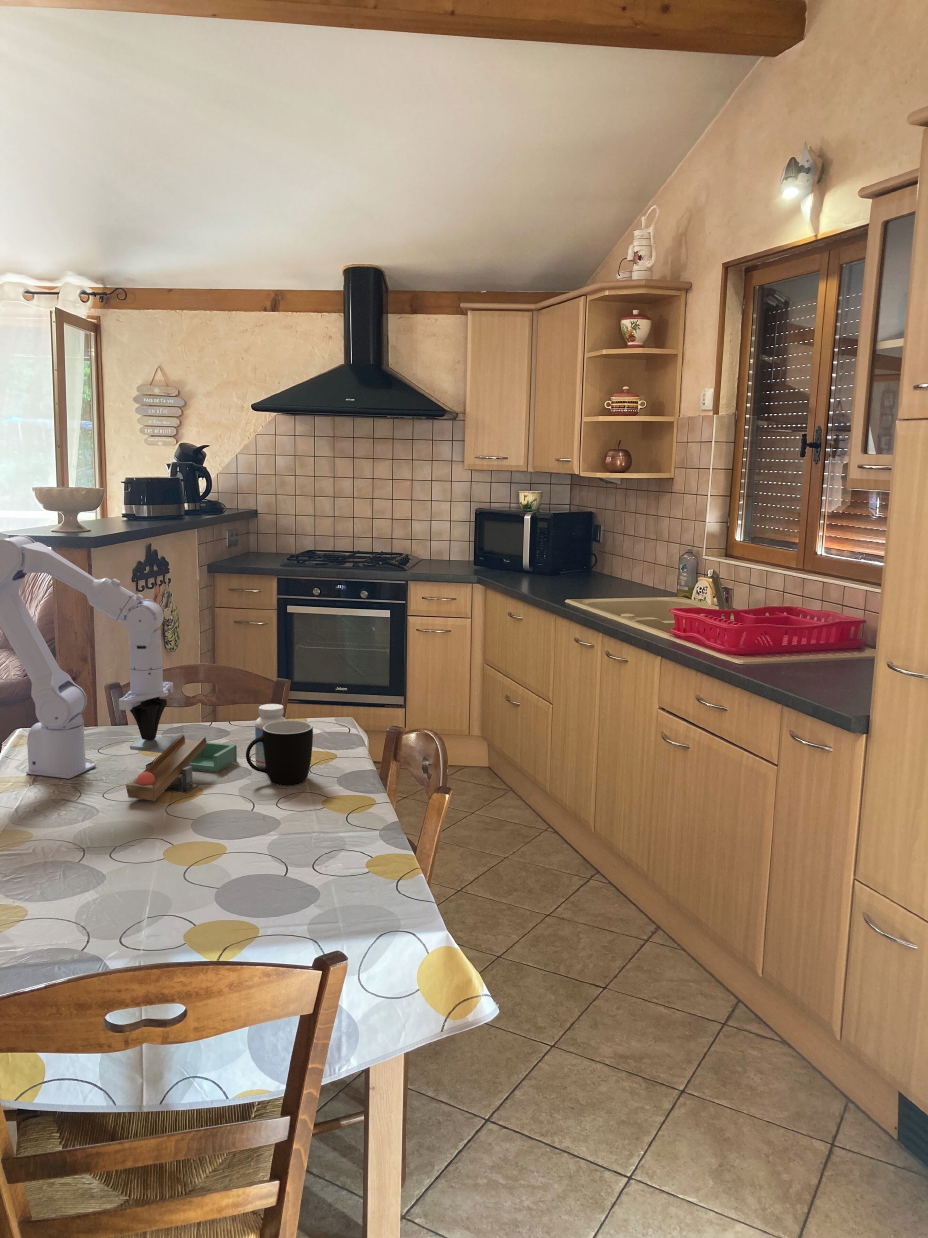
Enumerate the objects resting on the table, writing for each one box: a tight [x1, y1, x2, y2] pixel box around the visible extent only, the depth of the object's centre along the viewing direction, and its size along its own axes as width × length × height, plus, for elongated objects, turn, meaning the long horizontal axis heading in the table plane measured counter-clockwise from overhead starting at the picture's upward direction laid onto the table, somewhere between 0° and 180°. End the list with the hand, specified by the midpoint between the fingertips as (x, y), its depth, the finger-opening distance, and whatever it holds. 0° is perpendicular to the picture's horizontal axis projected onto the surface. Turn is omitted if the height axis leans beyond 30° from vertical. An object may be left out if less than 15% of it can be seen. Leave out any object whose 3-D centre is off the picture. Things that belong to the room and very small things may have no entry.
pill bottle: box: [254, 703, 287, 768], centre depth 181 cm, size 6×6×11 cm
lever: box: [125, 733, 208, 801], centre depth 167 cm, size 14×18×3 cm
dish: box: [188, 741, 238, 773], centre depth 180 cm, size 8×7×3 cm
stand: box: [145, 761, 199, 794], centre depth 167 cm, size 9×4×4 cm, turn 75°
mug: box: [245, 719, 314, 787], centre depth 171 cm, size 12×9×10 cm
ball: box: [136, 771, 155, 785], centre depth 160 cm, size 3×3×3 cm
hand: (148, 739), depth 175 cm, fingers closed
